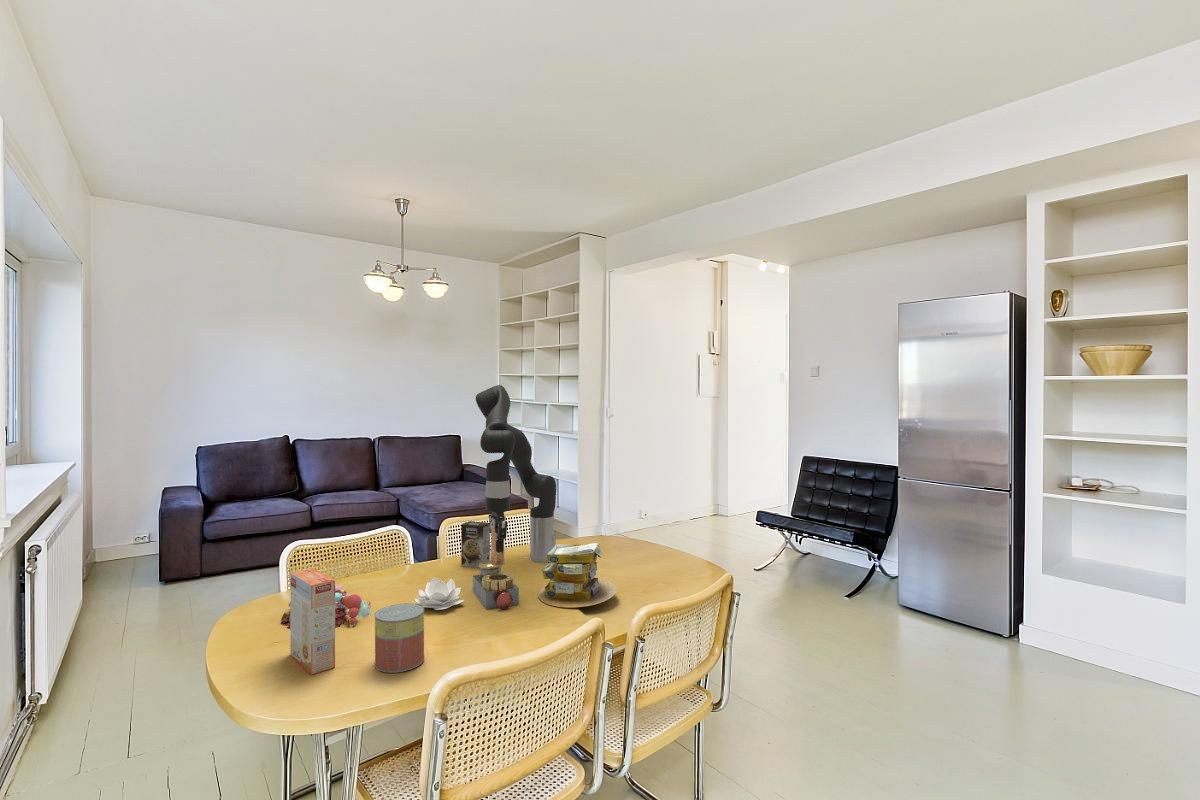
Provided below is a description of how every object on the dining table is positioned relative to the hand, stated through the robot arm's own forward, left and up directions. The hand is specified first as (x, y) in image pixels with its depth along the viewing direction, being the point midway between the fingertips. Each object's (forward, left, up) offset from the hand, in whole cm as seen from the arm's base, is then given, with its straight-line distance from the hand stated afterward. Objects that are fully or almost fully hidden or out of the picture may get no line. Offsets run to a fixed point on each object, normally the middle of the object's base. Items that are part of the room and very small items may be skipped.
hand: (497, 549), depth 181 cm
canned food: (+32, +30, -16) cm, 47 cm away
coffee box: (-2, -40, -16) cm, 43 cm away
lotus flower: (+17, -3, -16) cm, 24 cm away
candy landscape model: (+48, -8, -17) cm, 51 cm away
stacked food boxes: (-28, +7, -19) cm, 35 cm away
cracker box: (+51, +22, -16) cm, 58 cm away
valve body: (0, -4, -16) cm, 16 cm away
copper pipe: (0, 0, -4) cm, 4 cm away
